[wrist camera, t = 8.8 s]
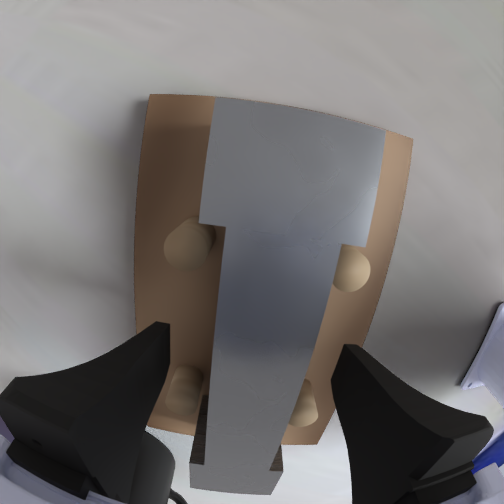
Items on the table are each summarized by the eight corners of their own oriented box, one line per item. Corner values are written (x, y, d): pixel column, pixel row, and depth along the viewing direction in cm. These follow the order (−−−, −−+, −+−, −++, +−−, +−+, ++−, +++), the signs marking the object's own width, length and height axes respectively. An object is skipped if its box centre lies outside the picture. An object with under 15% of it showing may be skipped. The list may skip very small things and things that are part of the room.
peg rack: (401, 140, 12) (442, 136, 9) (314, 432, 18) (321, 469, 14) (158, 99, 12) (128, 80, 8) (151, 414, 17) (139, 451, 14)
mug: (174, 489, 21) (161, 555, 13) (72, 436, 19) (39, 500, 11) (221, 463, 19) (213, 552, 11) (92, 396, 17) (44, 484, 9)
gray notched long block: (231, 125, 11) (215, 96, 6) (334, 142, 11) (386, 130, 6) (200, 425, 16) (190, 487, 11) (267, 432, 16) (270, 494, 11)
